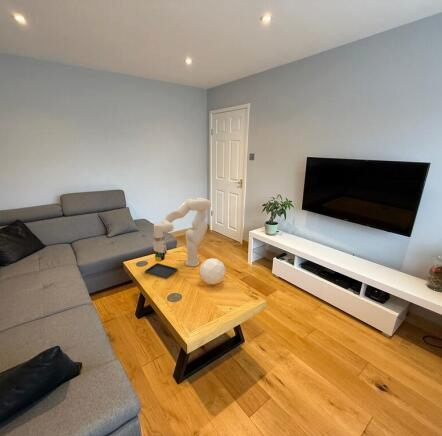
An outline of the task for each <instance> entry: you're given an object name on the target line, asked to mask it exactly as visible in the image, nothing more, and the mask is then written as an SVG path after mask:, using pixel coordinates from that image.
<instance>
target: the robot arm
mask: <svg viewBox="0 0 442 436" xmlns="http://www.w3.org/2000/svg"><path fill="white" fill-rule="evenodd" d="M211 206H212V202H211V201H210V200H209V199H207V198H204V197H200V196H199V197H197V198H196V199H194V198H186V199H185V200H184V201H183V202H182V203H181V204H180V205H179V206H178V207H177V208H176V209H175V210H173V211H172V212H170V213H168V214H166V216H165V217H164V218H163V219H162V220H161V221H160V222H155V223H154V224H153V244H152V245H153V246H152V251H153V253H154V256H155V255H156V254H158V253H161V255H162V256H161V262H163V261H164V260H165V259H164V255H165V256H166V255H167V254H168V250H167V243H166V239H165V235H164V233H171V232H173V231H174V229H175V226H174V224H173V222H174V221H176V220H177V219H183V218H185V216H187V215H188V213H189V212H190V211H194V212H195V211H196V214H195V216H194V218H193V220H192V222H191V226H192V228H189V229H187V230H186V231H185V243H186V260H185V265H186V266H188V267H196V266H199V265H200V263H201V261H200V260H199V259H200V255H199V252H198V250H199V249H198V248H199V247H198V244H200V243H201V242H202V240H203V239H204V237H205V234H207V233H206V232H207V231H208V227H209V226H208V222H206V217H207V216H208V210H209V209H210V208H211ZM193 228H194V229H193Z"/></svg>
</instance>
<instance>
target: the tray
mask: <svg viewBox="0 0 442 436" xmlns="http://www.w3.org/2000/svg"><path fill="white" fill-rule="evenodd" d="M177 271H178V268H177V267H173V266H169V265H166V264H163V263H160V262H156V263H154V264H153V265H152V266H150V267H148V268H147V269H145V270H144V273H145V274H148V275H152V276H155V277H159V278H162V279H165V280H167V279H168V278H169V277H170V276H172V275H173V274H174V273H176V272H177Z"/></svg>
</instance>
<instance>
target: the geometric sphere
mask: <svg viewBox="0 0 442 436" xmlns="http://www.w3.org/2000/svg"><path fill="white" fill-rule="evenodd" d="M226 270H227V269H226V267H225V265H224V262H223V261H221V260H219V259H218V258H213V257H212V258H211V257H210V258H208V259H205V260H204V261H203V262H202V263H201V265H200V267H199V276H200V278H201V280H202V281H203V282H204V283H205V284H208V285H213V286H214V285H217V284H219V283H222V281H223V280H224V278H225V277H226Z"/></svg>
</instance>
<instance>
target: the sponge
mask: <svg viewBox="0 0 442 436" xmlns="http://www.w3.org/2000/svg"><path fill="white" fill-rule="evenodd" d="M161 256H162V255H161V253H160V252H158V254H156V255H155V254H154V262H157V263H161V262H162V261H161ZM165 259H166V254H165V255H164V260H165Z"/></svg>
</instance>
